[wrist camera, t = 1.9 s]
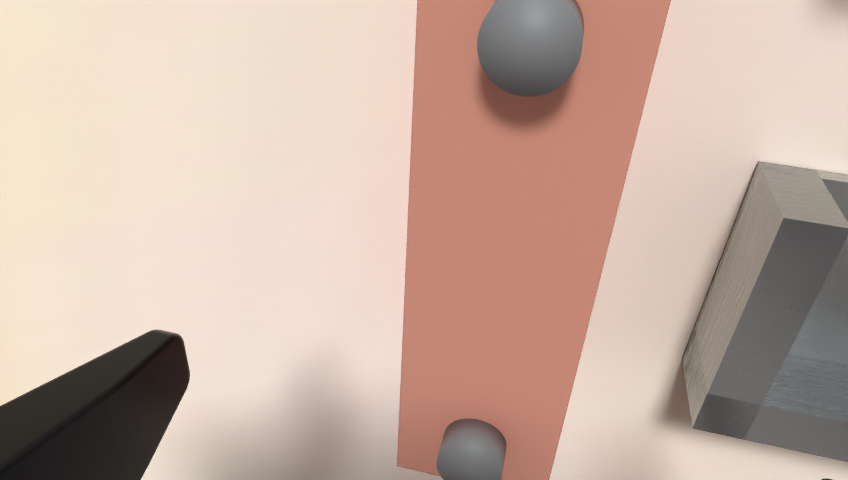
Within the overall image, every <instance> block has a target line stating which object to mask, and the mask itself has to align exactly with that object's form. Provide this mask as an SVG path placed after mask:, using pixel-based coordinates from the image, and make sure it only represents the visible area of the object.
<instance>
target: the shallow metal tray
mask: <svg viewBox="0 0 848 480" xmlns="http://www.w3.org/2000/svg"><path fill="white" fill-rule="evenodd" d="M682 359H683V366H684V373H685V380H686V387H687V394H688V402H689V409H690V416H691V423H692V428H693V429H698V430H703V431H707V432H712V433H717V434H721V435H726V436H730V437H735V438H740V439H744V440H749V441H754V442H758V443H763V444H767V445H772V446H777V447H781V448H786V449H791V450H795V451H800V452H804V453H809V454H814V455H818V456H823V457H828V458H832V459H837V460H842V461H846V462H848V175H845V174H839V173H832V172H825V171H818V170H812V169H805V168H798V167H792V166H785V165H778V164H771V163H765V162H758V164H757V167H756V169H755V172H754V174H753V177H752V180H751V182H750V185H749V187H748V190H747V192H746V195H745V198H744V200H743V203H742V205H741V208H740V211H739V213H738V216H737V218H736V221H735V224H734V226H733V229H732V231H731V234H730V236H729V239H728V242H727V244H726V247H725V249H724V252H723V255H722V257H721V260H720V262H719V265H718V267H717V270H716V273H715V275H714V278H713V280H712V283H711V286H710V288H709V291H708V293H707V296H706V298H705V301H704V304H703V306H702V309H701V311H700V314H699V317H698V319H697V322H696V324H695V327H694V330H693V332H692V335H691V337H690V340H689V342H688V345H687V348H686V350H685V353H684V355H683V358H682Z"/></svg>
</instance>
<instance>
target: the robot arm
mask: <svg viewBox="0 0 848 480" xmlns="http://www.w3.org/2000/svg"><path fill="white" fill-rule="evenodd" d="M189 379H190V371H189V366H188V361H187V356H186V351H185V346H184V341H183V339H182V337H181V336H180V335H179V334H176V333H172V332H167V331H163V330H152V331H149V332H147V333H145V334H143V335H141V336H139V337H137V338H135V339H133V340H131V341H129V342H127V343H125V344H123V345H121V346H119V347H117V348H115V349H113V350H111V351H109V352H107V353H105V354H103V355H101V356H99V357H97V358H95V359H93V360H91V361H89V362H87V363H85V364H83V365H81V366H79V367H77V368H75V369H73V370H71V371H69V372H67V373H65V374H63V375H61V376H59V377H57V378H55V379H53V380H51V381H49V382H47V383H45V384H43V385H41V386H39V387H37V388H35V389H33V390H31V391H29V392H27V393H25V394H23V395H21V396H19V397H17V398H15V399H13V400H11V401H9V402H7V403H5V404H3V405H1V406H0V480H141V478H142V476H143V474H144V472H145V471H146V469H147V467H148V465H149V463H150V461H151V459H152V457H153V455H154V453H155V451H156V449H157V447H158V445H159V443H160V441H161V439H162V437H163V435H164V433H165V431H166V429H167V427H168V425H169V423H170V421H171V419H172V417H173V415H174V413H175V411H176V409H177V407H178V405H179V403H180V401H181V399H182V397H183V395H184V393H185V391H186V389H187V386H188V383H189ZM822 480H832V479H822Z"/></svg>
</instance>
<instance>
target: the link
mask: <svg viewBox="0 0 848 480" xmlns="http://www.w3.org/2000/svg"><path fill="white" fill-rule="evenodd" d="M670 1H671V0H417V21H416V44H415V67H414V90H413V113H412V136H411V158H410V181H409V204H408V227H407V250H406V273H405V296H404V319H403V342H402V365H401V388H400V411H399V434H398V457H397V466H399V467H404V468H408V469H412V470H416V471H420V472H425V473H429V474H433V475H437V476H441V477H442V478H443V479H444V480H549V478H550V474H551V470H552V466H553V462H554V458H555V454H556V450H557V446H558V442H559V438H560V434H561V431H562V427H563V423H564V419H565V415H566V411H567V407H568V403H569V399H570V395H571V391H572V387H573V383H574V379H575V375H576V371H577V368H578V364H579V360H580V356H581V352H582V348H583V344H584V340H585V336H586V332H587V328H588V324H589V320H590V316H591V312H592V308H593V305H594V301H595V297H596V293H597V289H598V285H599V281H600V277H601V273H602V269H603V265H604V261H605V257H606V253H607V249H608V246H609V242H610V238H611V234H612V230H613V226H614V222H615V218H616V214H617V210H618V206H619V202H620V198H621V194H622V190H623V186H624V183H625V179H626V175H627V171H628V167H629V163H630V159H631V155H632V151H633V147H634V143H635V139H636V135H637V131H638V127H639V123H640V120H641V116H642V112H643V108H644V104H645V100H646V96H647V92H648V88H649V84H650V80H651V76H652V72H653V68H654V64H655V61H656V57H657V53H658V49H659V45H660V41H661V37H662V33H663V29H664V25H665V21H666V17H667V13H668V9H669V5H670Z"/></svg>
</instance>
